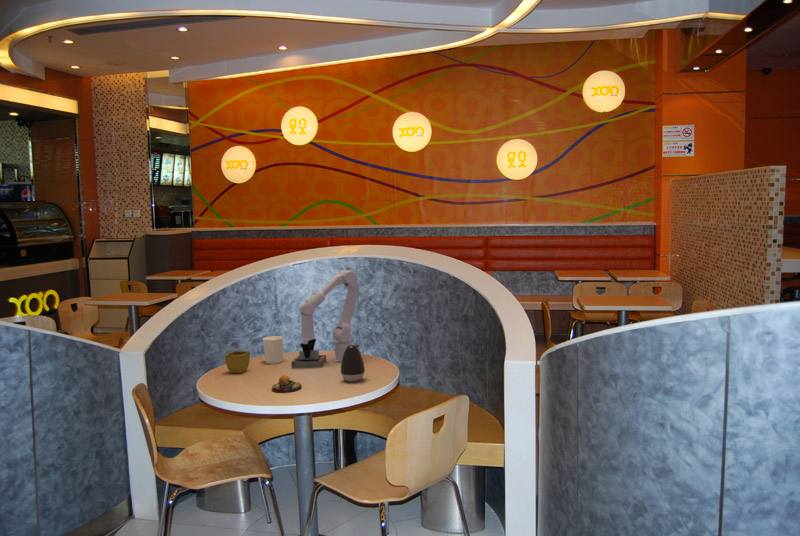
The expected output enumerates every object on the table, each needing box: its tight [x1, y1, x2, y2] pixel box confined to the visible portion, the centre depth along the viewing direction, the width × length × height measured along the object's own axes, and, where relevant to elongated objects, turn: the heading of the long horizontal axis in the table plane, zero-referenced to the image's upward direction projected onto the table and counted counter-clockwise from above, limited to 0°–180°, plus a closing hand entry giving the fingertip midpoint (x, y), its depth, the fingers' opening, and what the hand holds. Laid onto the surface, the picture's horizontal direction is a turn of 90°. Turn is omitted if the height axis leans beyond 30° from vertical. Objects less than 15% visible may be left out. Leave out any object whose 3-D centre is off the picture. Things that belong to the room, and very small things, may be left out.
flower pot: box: [224, 350, 251, 374], centre depth 284 cm, size 9×9×9 cm
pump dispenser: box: [340, 344, 366, 383], centre depth 260 cm, size 10×10×15 cm
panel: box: [298, 349, 320, 359], centre depth 293 cm, size 9×2×6 cm, turn 88°
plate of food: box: [271, 374, 302, 394], centre depth 251 cm, size 12×12×8 cm
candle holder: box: [262, 335, 284, 365], centre depth 302 cm, size 10×10×12 cm
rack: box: [290, 354, 327, 369], centre depth 294 cm, size 14×14×3 cm
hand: (309, 356), depth 293 cm, fingers open, 7 cm apart
